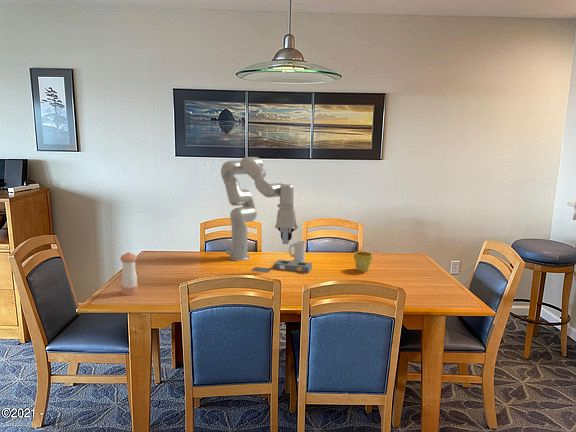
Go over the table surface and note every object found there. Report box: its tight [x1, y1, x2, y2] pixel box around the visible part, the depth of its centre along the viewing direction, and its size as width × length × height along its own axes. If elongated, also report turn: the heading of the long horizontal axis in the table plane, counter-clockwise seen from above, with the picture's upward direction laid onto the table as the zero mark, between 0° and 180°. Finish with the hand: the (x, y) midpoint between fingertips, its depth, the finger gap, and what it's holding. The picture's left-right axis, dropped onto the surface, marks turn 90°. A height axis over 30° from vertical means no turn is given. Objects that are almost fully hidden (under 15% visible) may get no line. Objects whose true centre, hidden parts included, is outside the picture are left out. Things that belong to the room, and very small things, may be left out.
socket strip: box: [273, 259, 313, 274], centre depth 237 cm, size 20×9×4 cm, turn 74°
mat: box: [250, 266, 272, 273], centre depth 234 cm, size 10×8×1 cm
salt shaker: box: [120, 252, 139, 296], centre depth 193 cm, size 7×7×19 cm
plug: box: [281, 228, 291, 245], centre depth 232 cm, size 3×3×10 cm
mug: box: [288, 240, 306, 262], centre depth 253 cm, size 10×7×12 cm, turn 89°
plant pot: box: [353, 250, 373, 273], centre depth 239 cm, size 10×10×10 cm
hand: (286, 239), depth 232 cm, fingers closed on plug, 3 cm apart
